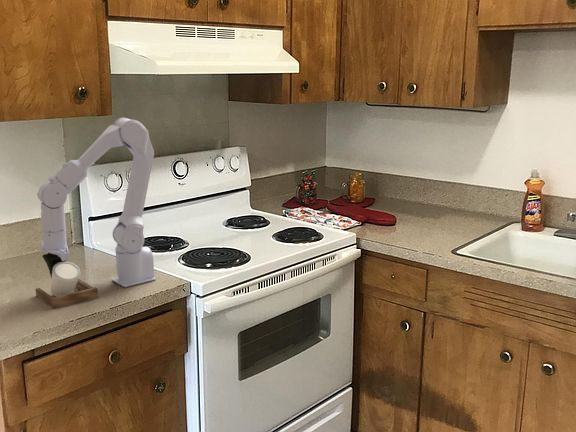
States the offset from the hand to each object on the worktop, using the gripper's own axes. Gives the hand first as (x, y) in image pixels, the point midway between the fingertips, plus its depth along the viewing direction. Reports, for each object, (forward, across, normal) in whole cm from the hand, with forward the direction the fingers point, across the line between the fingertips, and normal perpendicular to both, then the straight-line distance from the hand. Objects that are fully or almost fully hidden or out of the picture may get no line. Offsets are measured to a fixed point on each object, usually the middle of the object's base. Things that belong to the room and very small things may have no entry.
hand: (57, 280), depth 162 cm
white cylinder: (+2, +1, +1) cm, 3 cm away
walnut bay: (+3, +3, +1) cm, 5 cm away
